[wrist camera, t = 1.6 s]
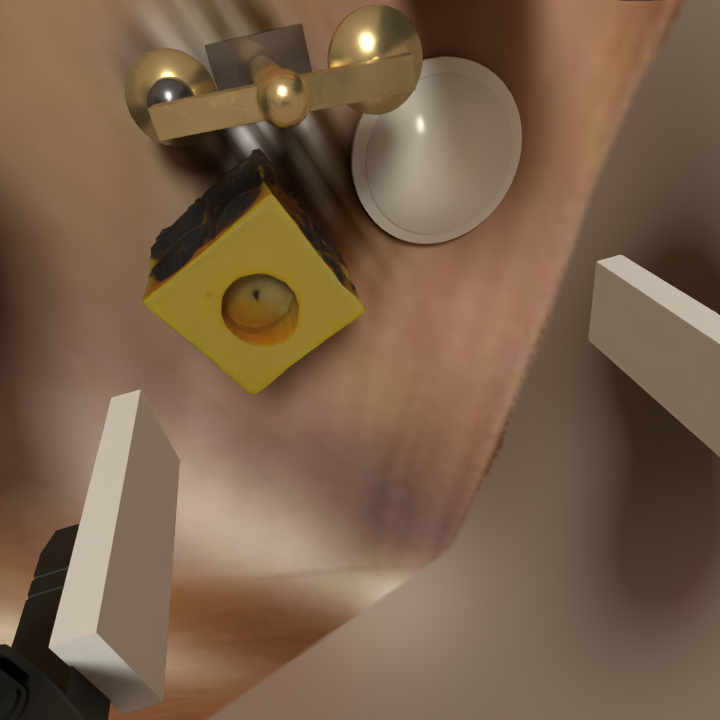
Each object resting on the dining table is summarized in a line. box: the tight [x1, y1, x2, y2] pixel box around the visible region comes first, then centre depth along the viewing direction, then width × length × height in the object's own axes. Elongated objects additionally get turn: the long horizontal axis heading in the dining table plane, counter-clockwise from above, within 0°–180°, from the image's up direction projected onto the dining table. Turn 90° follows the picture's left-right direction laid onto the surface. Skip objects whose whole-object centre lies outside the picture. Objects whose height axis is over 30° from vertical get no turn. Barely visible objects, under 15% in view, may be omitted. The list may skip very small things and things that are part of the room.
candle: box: [142, 149, 366, 394], centre depth 36 cm, size 10×10×10 cm
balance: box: [125, 5, 423, 147], centre depth 28 cm, size 16×5×14 cm, turn 100°
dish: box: [351, 56, 522, 244], centre depth 39 cm, size 13×13×1 cm
